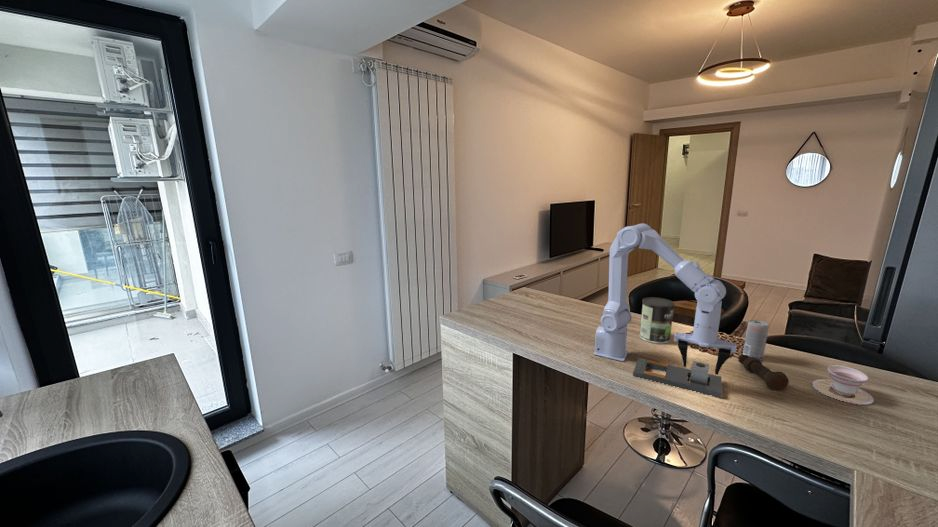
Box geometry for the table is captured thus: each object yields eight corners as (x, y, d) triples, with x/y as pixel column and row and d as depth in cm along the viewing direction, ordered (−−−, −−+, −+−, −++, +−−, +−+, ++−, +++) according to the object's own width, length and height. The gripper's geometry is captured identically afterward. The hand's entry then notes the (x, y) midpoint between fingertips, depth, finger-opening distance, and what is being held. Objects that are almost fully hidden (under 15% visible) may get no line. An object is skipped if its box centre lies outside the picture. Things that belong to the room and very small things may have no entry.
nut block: (689, 385, 106) (692, 366, 104) (690, 379, 109) (692, 360, 108) (706, 389, 104) (709, 369, 102) (706, 382, 107) (709, 363, 105)
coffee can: (674, 338, 136) (679, 301, 133) (663, 346, 129) (667, 308, 126) (646, 329, 143) (649, 295, 140) (633, 337, 137) (637, 301, 134)
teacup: (881, 411, 93) (887, 389, 92) (817, 397, 99) (822, 376, 98) (864, 388, 103) (869, 368, 102) (807, 376, 109) (811, 357, 108)
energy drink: (760, 355, 122) (766, 321, 120) (765, 362, 118) (771, 327, 115) (740, 352, 125) (746, 318, 122) (744, 359, 120) (750, 324, 117)
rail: (632, 376, 111) (633, 371, 110) (638, 362, 119) (638, 357, 119) (721, 398, 99) (722, 392, 99) (720, 381, 107) (721, 376, 107)
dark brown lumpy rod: (743, 369, 117) (779, 395, 103) (730, 361, 117) (764, 386, 103) (755, 354, 116) (793, 378, 102) (742, 347, 116) (778, 369, 101)
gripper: (675, 324, 103) (670, 368, 106) (739, 335, 95) (732, 382, 98) (677, 316, 108) (672, 358, 111) (738, 325, 101) (731, 371, 104)
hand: (700, 369), depth 105 cm, fingers open, 7 cm apart
